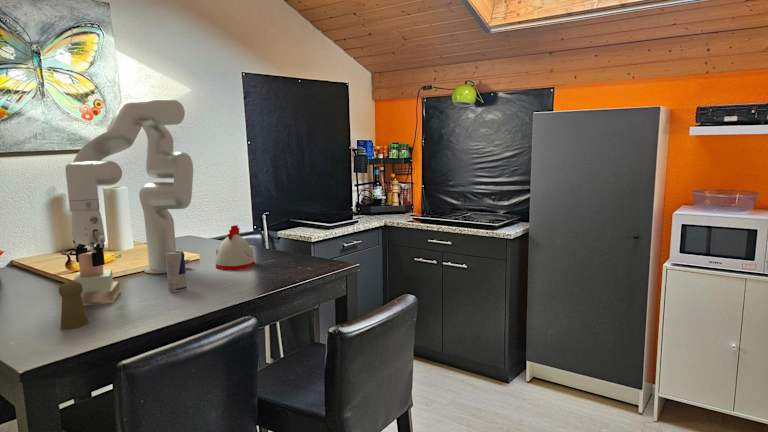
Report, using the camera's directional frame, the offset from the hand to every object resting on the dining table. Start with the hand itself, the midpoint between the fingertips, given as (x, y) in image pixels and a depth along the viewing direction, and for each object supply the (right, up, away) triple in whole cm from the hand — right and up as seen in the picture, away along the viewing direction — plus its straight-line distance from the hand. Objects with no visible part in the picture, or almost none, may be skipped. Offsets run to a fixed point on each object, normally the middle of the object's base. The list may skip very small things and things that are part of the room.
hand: (90, 263), depth 153 cm
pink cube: (0, -3, +1) cm, 3 cm away
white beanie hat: (+31, -5, +40) cm, 51 cm away
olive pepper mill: (+7, -14, -20) cm, 26 cm away
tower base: (+1, -11, +2) cm, 11 cm away
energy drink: (+22, -9, +9) cm, 26 cm away
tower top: (+1, -7, +1) cm, 7 cm away
